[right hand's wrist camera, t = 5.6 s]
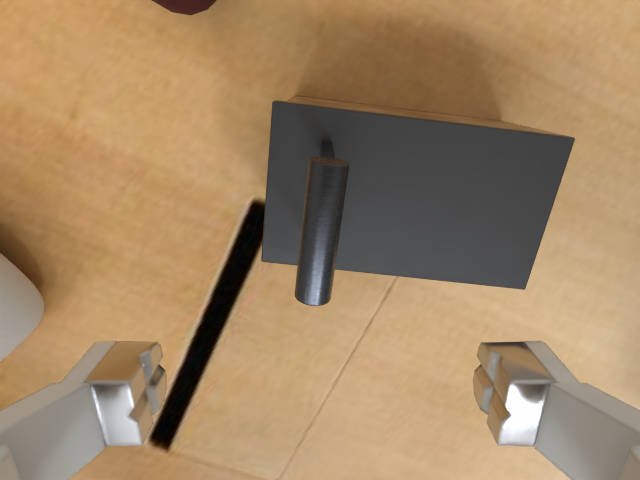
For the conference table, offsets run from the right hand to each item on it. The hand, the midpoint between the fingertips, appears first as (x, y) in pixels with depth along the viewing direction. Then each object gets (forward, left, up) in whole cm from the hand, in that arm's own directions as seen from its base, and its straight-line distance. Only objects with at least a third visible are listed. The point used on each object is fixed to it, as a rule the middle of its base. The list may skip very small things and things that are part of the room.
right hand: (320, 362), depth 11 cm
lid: (+6, -1, -17) cm, 18 cm away
